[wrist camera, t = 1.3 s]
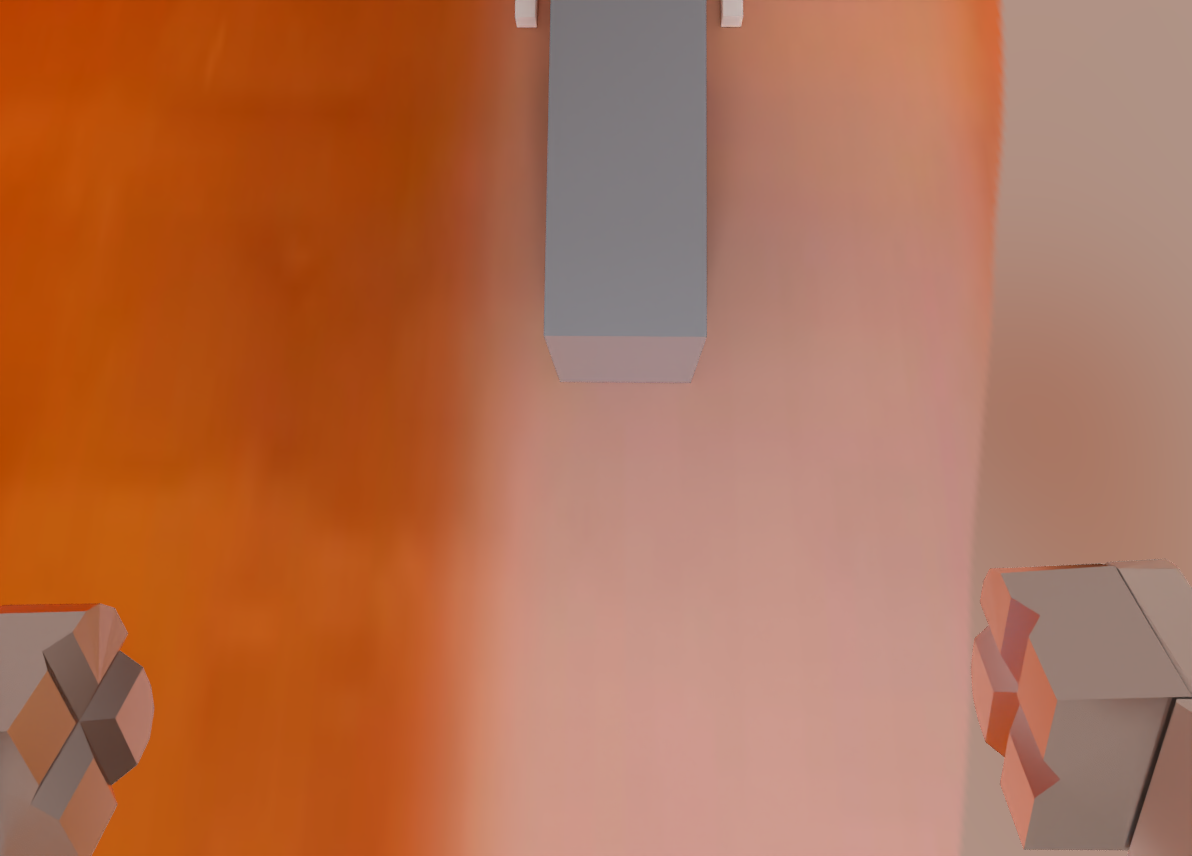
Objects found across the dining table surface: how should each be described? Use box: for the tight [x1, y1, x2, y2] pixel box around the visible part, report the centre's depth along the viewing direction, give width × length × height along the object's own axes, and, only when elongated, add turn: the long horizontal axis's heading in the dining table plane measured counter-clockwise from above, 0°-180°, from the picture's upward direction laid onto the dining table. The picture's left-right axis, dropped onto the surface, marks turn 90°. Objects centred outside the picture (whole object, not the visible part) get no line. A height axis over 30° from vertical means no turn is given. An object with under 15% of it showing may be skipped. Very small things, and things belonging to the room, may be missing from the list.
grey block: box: [544, 0, 707, 383], centre depth 37 cm, size 13×5×8 cm, turn 179°
